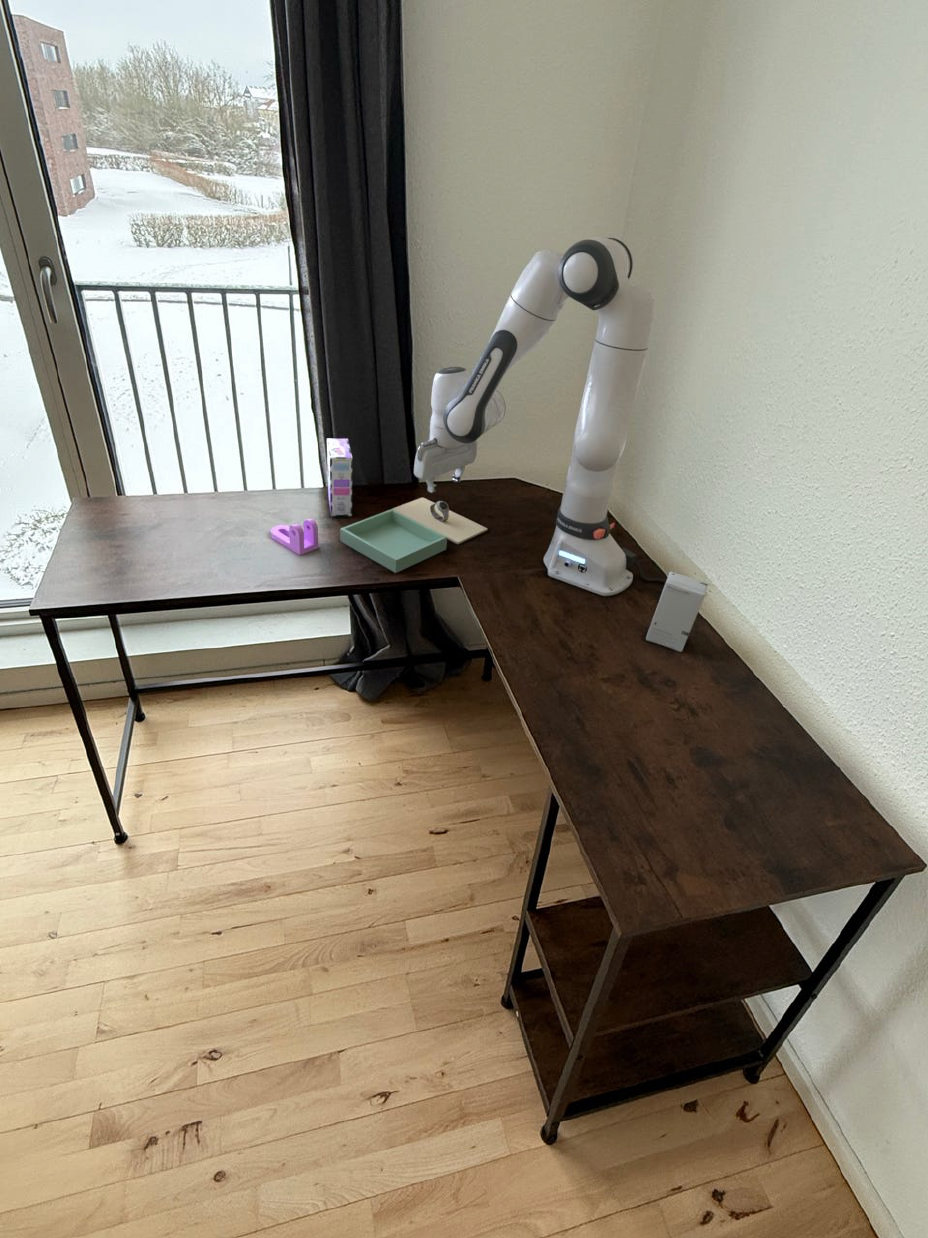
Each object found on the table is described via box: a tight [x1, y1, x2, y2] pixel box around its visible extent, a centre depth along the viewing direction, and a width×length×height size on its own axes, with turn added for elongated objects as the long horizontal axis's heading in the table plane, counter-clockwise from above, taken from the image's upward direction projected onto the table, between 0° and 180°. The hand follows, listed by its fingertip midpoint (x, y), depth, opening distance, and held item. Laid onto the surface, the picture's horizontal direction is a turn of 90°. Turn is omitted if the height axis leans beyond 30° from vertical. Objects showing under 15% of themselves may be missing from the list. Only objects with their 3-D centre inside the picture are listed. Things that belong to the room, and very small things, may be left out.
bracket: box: [270, 518, 320, 556], centre depth 161 cm, size 13×6×7 cm, turn 49°
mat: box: [392, 497, 489, 545], centre depth 180 cm, size 24×12×1 cm, turn 49°
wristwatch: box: [430, 500, 450, 522], centre depth 178 cm, size 4×6×5 cm, turn 43°
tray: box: [339, 508, 448, 574], centre depth 165 cm, size 20×18×4 cm
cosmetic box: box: [645, 571, 709, 653], centre depth 140 cm, size 8×6×15 cm
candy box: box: [326, 437, 353, 517], centre depth 177 cm, size 14×6×16 cm, turn 12°
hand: (444, 486), depth 174 cm, fingers open, 8 cm apart
